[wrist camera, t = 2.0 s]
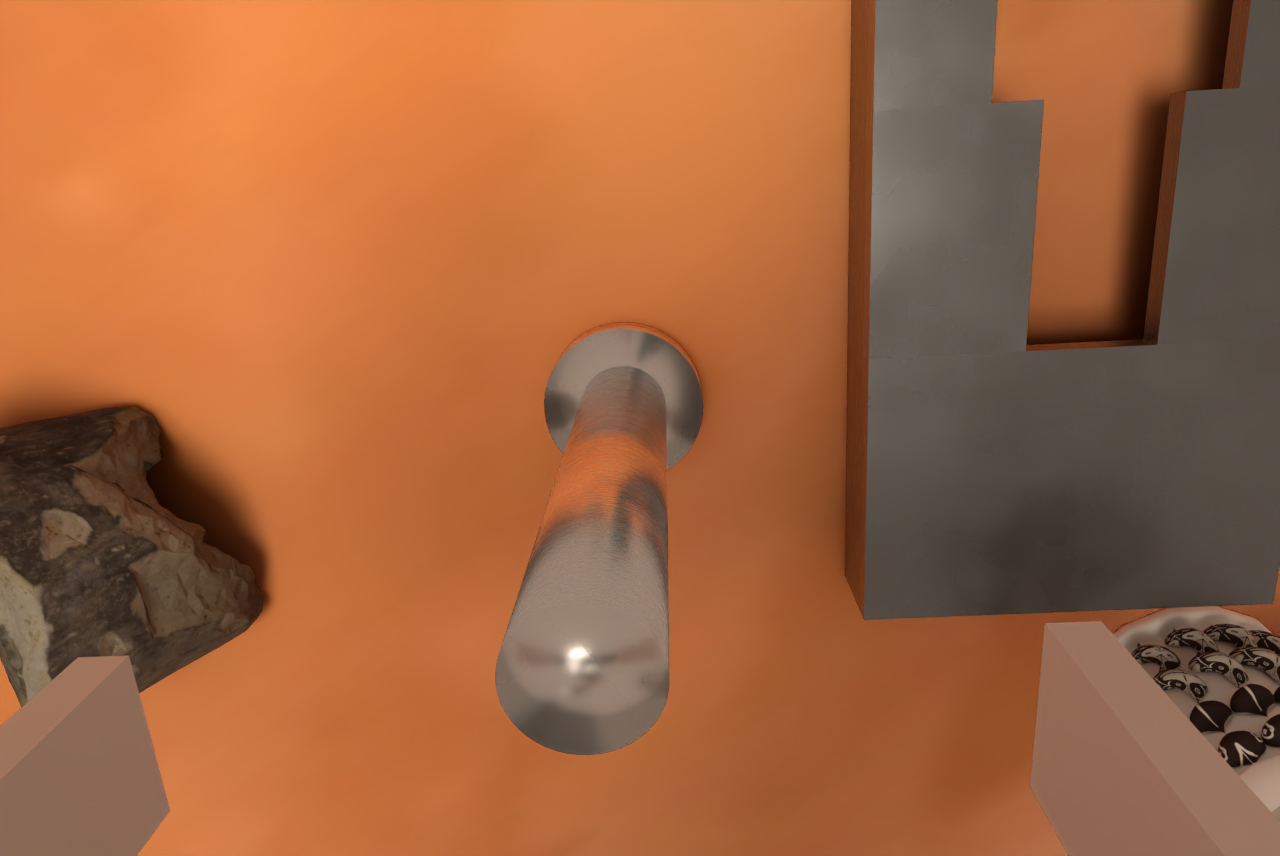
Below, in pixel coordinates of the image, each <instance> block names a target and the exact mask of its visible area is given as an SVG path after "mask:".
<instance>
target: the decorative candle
mask: <svg viewBox="0 0 1280 856" xmlns="http://www.w3.org/2000/svg"><path fill="white" fill-rule="evenodd" d="M1113 635H1114V636H1115V637H1116V638H1117V639H1118V641H1119V642H1120V643H1121V644H1122V645H1123V646H1124V647H1125V648H1126V650H1127V651H1128V652H1129V653H1130V654H1131V655H1132V656H1133V657H1134V659H1135V660H1136V661H1137V662H1138V663H1139V664H1140V665H1141V666H1142V668H1143V669H1144V670H1145V671H1146V672H1147V673H1148V674H1149V675H1150V677H1151V678H1152V679H1153V680H1154V681H1155V682H1156V683H1157V684H1158V686H1159V687H1160V688H1161V689H1162V690H1163V691H1164V692H1165V693H1166V694H1167V696H1168V697H1169V698H1170V699H1171V700H1172V701H1173V702H1174V703H1175V705H1176V706H1177V707H1178V708H1179V709H1180V710H1181V711H1182V712H1183V714H1184V715H1185V716H1186V717H1187V718H1188V719H1189V720H1190V721H1191V723H1192V724H1193V725H1194V726H1195V727H1196V728H1197V729H1198V730H1199V732H1200V733H1201V734H1202V735H1203V736H1204V737H1205V738H1206V739H1207V741H1208V742H1209V743H1210V744H1211V745H1212V746H1213V747H1214V748H1215V750H1216V751H1217V752H1218V753H1219V754H1220V755H1221V756H1222V757H1223V759H1224V760H1225V761H1226V762H1227V763H1228V764H1229V765H1230V766H1231V768H1232V769H1233V770H1234V771H1235V772H1236V773H1237V774H1238V775H1239V777H1240V778H1241V779H1242V780H1243V781H1244V782H1245V783H1246V784H1247V786H1248V787H1249V788H1250V789H1251V790H1252V791H1253V792H1254V793H1255V795H1256V796H1257V797H1258V798H1259V799H1260V800H1261V801H1262V802H1263V804H1264V805H1265V806H1266V807H1267V808H1268V809H1269V810H1270V811H1271V812H1272V814H1273V815H1274V816H1275V817H1276V818H1277V819H1278V820H1279V821H1280V637H1279V636H1277V635H1275V634H1273V633H1271V632H1270V631H1269V630H1268V629H1267V628H1266V627H1265V626H1264V625H1263V624H1262V623H1260V622H1259V621H1258V620H1257V619H1255V618H1253V617H1250V616H1247V615H1244V614H1240V613H1237V612H1234V611H1231V610H1228V609H1225V608H1222V607H1218V606H1202V607H1176V608H1165V609H1162V610H1160V611H1157V612H1155V613H1152V614H1150V615H1148V616H1145V617H1143V618H1140V619H1138V620H1135V621H1133V622H1130V623H1128V624H1125V625H1123V626H1121V627H1120V628H1119V629H1118V630H1117V631H1116V632H1114V633H1113Z"/></svg>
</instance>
